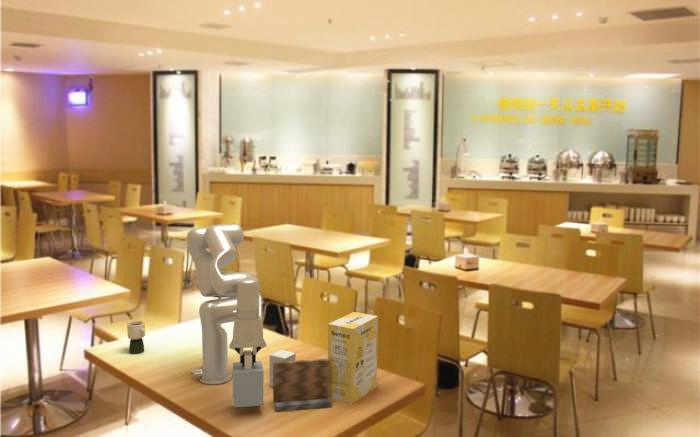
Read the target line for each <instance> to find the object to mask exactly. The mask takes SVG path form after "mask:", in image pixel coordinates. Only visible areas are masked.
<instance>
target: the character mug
mask: <svg viewBox="0 0 700 437" xmlns="http://www.w3.org/2000/svg"><path fill="white" fill-rule="evenodd" d="M145 324H146V323H145V321H143V320H132V321H129V322H127V325H126V330H127V338H128V339H129V347H128V348H129V349H128V352H129V353H132V354H136V353H138V352H139V353H141V352H144V351H145V344H144V339H143V338H144V337H145V336H146V330H145V329H146V328H145Z"/></svg>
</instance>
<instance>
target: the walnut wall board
mask: <svg viewBox="0 0 700 437" xmlns="http://www.w3.org/2000/svg"><path fill="white" fill-rule="evenodd" d="M272 389H273V390H272V395H273V396H272V397H273V398H272V404H274V411H275V413H277V412H278V413H279V412H289V411H290V412H291V411H303V410H315V409H328V408H333V401H332V399H331V398H329V359H328V358H319V359H306V360H305V359H304V360H302V359H301V360H295V361H285V362H273V387H272Z"/></svg>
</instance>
